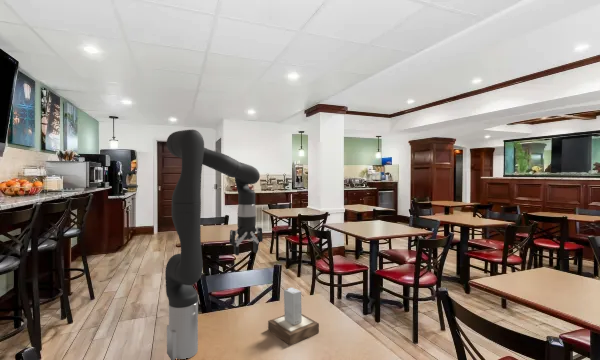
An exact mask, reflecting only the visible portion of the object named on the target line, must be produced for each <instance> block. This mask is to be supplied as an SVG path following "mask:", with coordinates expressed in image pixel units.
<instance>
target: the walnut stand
mask: <svg viewBox="0 0 600 360" xmlns="http://www.w3.org/2000/svg"><path fill="white" fill-rule="evenodd" d="M267 325H268V326H267V331H269V332H270V333H272V334H273V335H275V336H276V337H277V338H279V339H280V340H282V341H283V342H284V343H286V344H287V345H289V346H292V345H294V344H296V343H298V342H301V341H304V340H305V339H308V338H310V337H312V336H315V335H317V334H319V333H320V324H319V322H317V321H315V320H313V319H311V318H309V317H308V316H306V315H305V314H303V313H302V322H301V323H299V324H296V325H293V324H291V323H289V322H288V321H286V320H285V314H284V315H280V316H277V317H275V318H273V319H269V320H267Z"/></svg>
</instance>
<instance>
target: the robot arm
mask: <svg viewBox="0 0 600 360" xmlns="http://www.w3.org/2000/svg"><path fill="white" fill-rule="evenodd" d="M166 148H167V150H168V152H169V153H170V154H171V155H172V156H174V157H176V158H180V159H181V172H180V175H179V178H178V181H177V183H176V186H175V188H174V190H173V192H172V195H171V219H172V222H173V225H174V228H175V232H176V234H177V236H178V239H179V244H180V253H175V254H174V255H172V256H171V257H170V258H169V259H168V261H167V263H166V266H165V270H164V271H165V272H164V273H165V274H164V275H165V277H164V278H165V294H166V297H167V299H168V325H167V326H166V354H167V355H168V357H169V358H170V360H175V359H176V358H177V359H185V360H187V359H186V358H188V359H190V358H193V357H194V356H196V354H197V353H198V350H199V324H198V323H199V320H198V319H199V295H198V291H197V290H196V289H195V288H194V285H195V284H196V283H198V281H199V280H200V279H201V277H202V274H203V267H204V264H203V263H204V261H203V254H202V252H203V251H202V243H201V242H202V239H201V235H202V234H201V229H202V228H201V218H202V216H201V215H202V214H201V213H202V191H201V190H202V172H203V171H202V170H203V166H205V167H208V168H210V169H213V170H215V171H217V172H219V173H221V174H223V175H225V176H227V177H229V178H234V182H235V186H236V190H237V195H238V196H237V197H238V200H237V201H238V202H237V204H238V205H237V223H236V224H237V229H236V230H233V229H231V230H230V231H229V242H228V243H229V245H231V246H233V253H234V255H235V256H240V246H239V245H240V244H241V243H242V242H243V241H246V240H252V242H253V243H252V244H253V246H252V247H253V248H252V251H253V253H256V254H257V253H258V251H259V243H261V242H263V238H264V237H263V228H262V227H259V226H258V227H256V225H257V221H256V220H257V219H256V218H257V216H256V215H257V212H256V211H257V208H256V192H255V190H252V189H250V187H249V185H255V184H256V183H258V182H259V180H260V176H261V175H260V172H259V170H258V169H257V168H256V167H254V166H252V165H250V164H247V163H243V162H240V161H239V160H237V159H235V158H233V157H231V156H230V155H226V154H224V153H222V152H218V151H215V150H212V149H209V148H206V147H205V141H204V137H203V135H202V134H201V132H199V130H196V129H184V130H182V129H181V130H177V131H174V132H172V133H170V134H169V136H168V137H167V138H166Z"/></svg>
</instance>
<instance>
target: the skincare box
mask: <svg viewBox="0 0 600 360" xmlns="http://www.w3.org/2000/svg"><path fill="white" fill-rule="evenodd" d="M283 304H284V305H283V307H284V309H283V310H284V311H283V312H284V315H285V320H286V321H288V322H289V323H291V324H293V325H296V324H299V323H301V322H302V314H303V313H302V309H303V308H302V291H301V290H299V289H296V288H294V287H293V286H292V287H288V288H285V289H283Z"/></svg>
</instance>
